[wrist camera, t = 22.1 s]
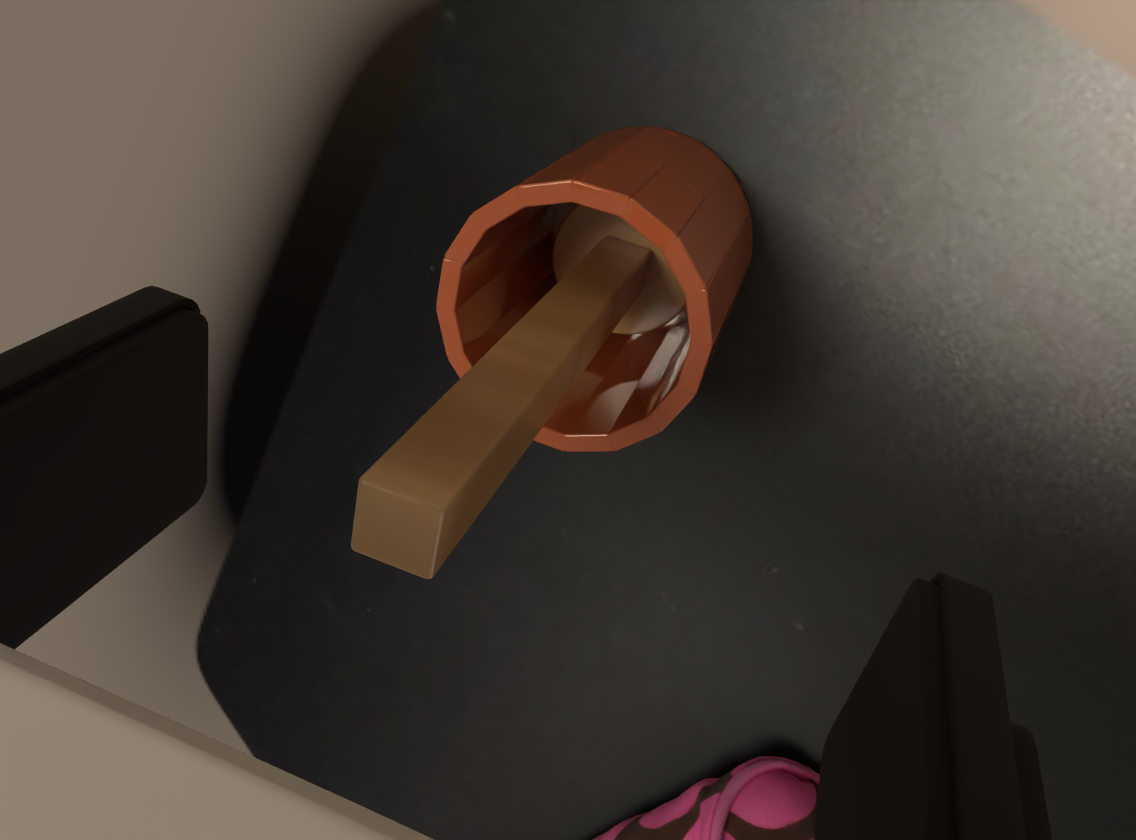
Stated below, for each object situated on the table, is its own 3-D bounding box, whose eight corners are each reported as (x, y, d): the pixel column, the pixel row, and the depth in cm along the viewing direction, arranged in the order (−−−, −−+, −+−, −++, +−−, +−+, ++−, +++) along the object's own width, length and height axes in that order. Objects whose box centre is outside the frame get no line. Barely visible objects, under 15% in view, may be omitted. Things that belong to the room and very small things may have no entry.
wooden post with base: (593, 154, 27) (277, 362, 13) (729, 195, 26) (555, 462, 12) (562, 285, 29) (263, 587, 15) (688, 326, 28) (500, 683, 14)
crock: (567, 99, 27) (460, 144, 20) (784, 162, 26) (750, 233, 19) (524, 302, 30) (420, 400, 23) (716, 365, 29) (665, 488, 22)
